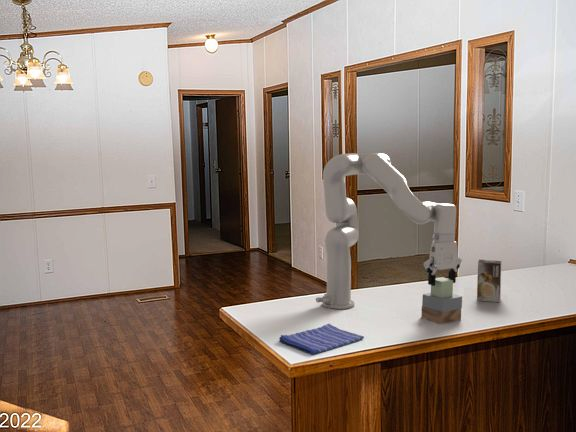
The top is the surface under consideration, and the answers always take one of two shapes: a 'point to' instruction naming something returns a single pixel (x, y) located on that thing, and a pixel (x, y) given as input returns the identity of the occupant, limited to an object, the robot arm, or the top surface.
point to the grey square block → (442, 302)
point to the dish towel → (320, 339)
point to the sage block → (442, 287)
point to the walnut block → (441, 315)
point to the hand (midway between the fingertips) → (441, 283)
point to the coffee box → (489, 280)
